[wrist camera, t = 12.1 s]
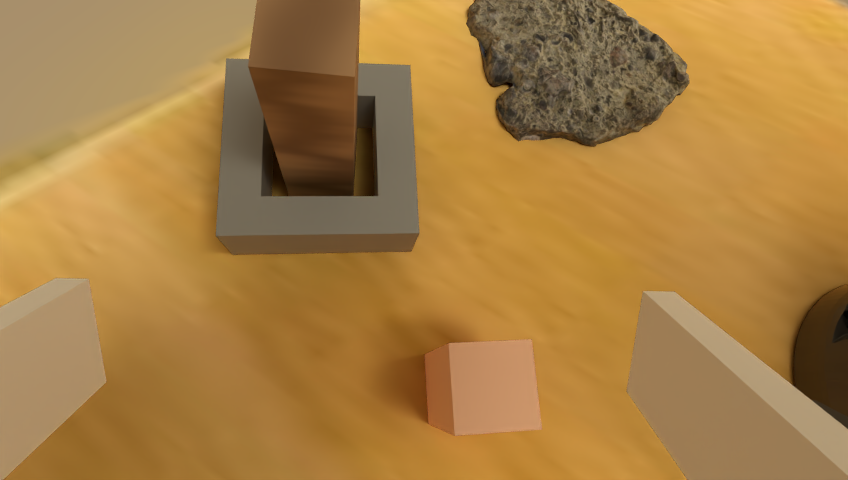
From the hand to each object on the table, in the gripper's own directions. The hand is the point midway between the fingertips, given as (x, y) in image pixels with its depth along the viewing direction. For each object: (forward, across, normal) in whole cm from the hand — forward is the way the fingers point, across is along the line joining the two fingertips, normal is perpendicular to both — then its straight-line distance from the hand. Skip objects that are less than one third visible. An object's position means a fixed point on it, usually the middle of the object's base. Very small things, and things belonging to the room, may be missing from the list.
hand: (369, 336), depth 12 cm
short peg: (+16, +4, -12) cm, 20 cm away
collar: (+22, -5, 0) cm, 23 cm away
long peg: (+22, -5, 0) cm, 23 cm away
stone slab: (+30, +13, +8) cm, 34 cm away
